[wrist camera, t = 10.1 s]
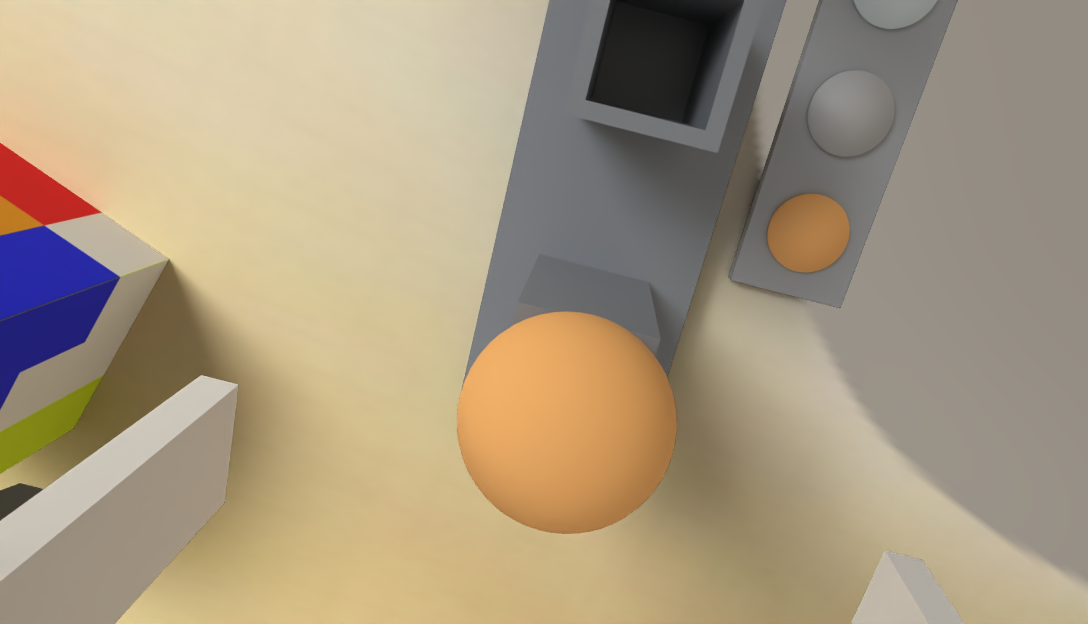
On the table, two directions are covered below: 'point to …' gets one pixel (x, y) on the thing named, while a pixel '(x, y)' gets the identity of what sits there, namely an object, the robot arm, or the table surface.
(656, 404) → the orange ball
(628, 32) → the ball display stand
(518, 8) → the table surface
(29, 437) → the puzzle toy
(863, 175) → the card
